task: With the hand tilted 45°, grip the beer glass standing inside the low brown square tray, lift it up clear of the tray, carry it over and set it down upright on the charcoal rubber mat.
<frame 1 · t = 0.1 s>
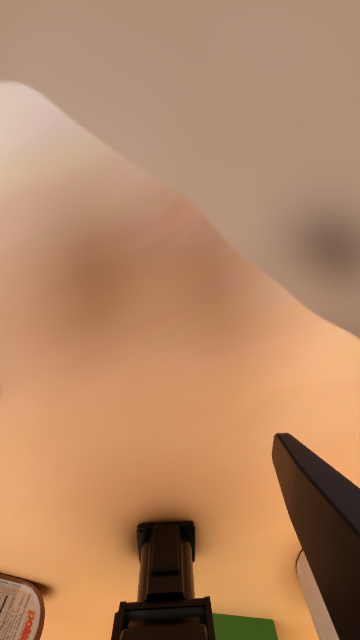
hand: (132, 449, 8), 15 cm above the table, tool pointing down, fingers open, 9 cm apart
hardback book: (205, 626, 38), on the table
utensil holder: (348, 555, 34), on the table
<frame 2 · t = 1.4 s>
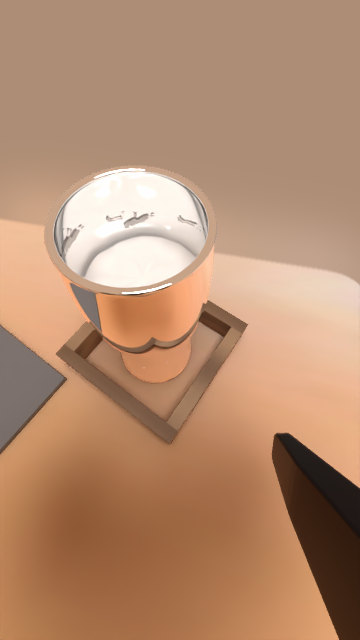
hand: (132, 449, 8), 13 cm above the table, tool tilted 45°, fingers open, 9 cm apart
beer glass: (156, 349, 24), resting in brown square tray
brown square tray: (156, 349, 24), on the table
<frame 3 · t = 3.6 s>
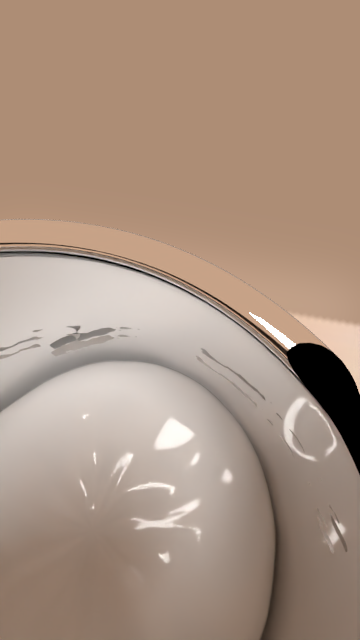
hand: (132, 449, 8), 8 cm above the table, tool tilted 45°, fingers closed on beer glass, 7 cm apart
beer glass: (151, 476, 15), resting in brown square tray, touching gripper
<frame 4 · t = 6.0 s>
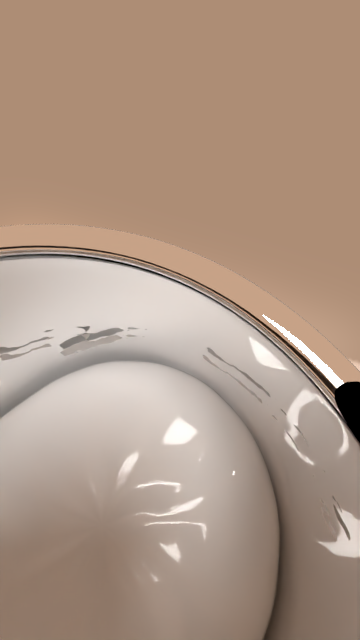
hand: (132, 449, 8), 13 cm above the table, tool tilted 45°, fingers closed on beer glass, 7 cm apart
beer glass: (154, 478, 15), point 5 cm above the table, touching gripper
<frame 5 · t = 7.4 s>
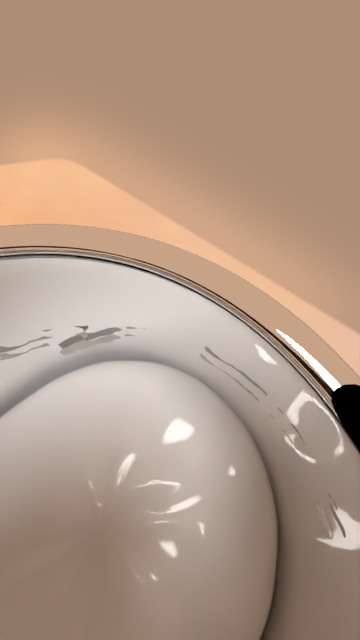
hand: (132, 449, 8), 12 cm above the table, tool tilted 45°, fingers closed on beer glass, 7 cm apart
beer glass: (155, 477, 15), point 4 cm above the table, touching gripper
when the fingers open (9 cm above the table, at t = 8.4 s): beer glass stays where it is, resting on rubber mat.
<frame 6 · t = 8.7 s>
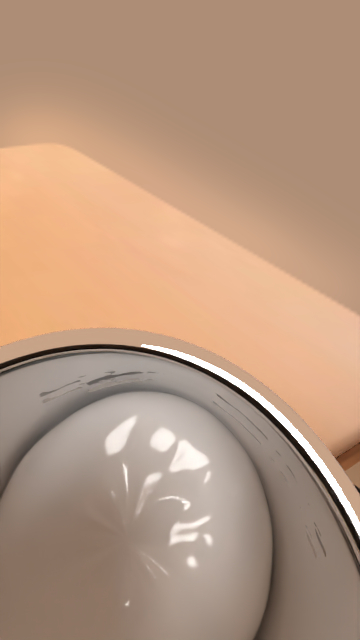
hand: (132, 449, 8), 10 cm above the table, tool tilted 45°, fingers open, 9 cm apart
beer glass: (156, 481, 16), resting on rubber mat
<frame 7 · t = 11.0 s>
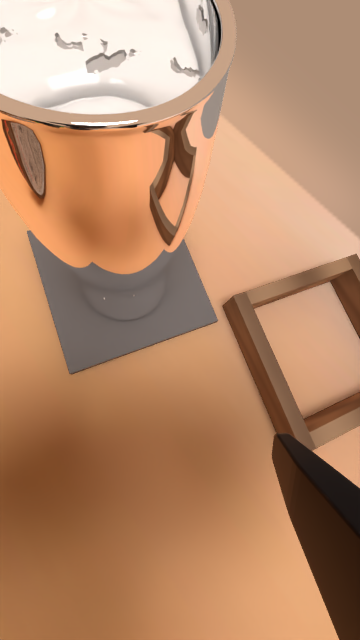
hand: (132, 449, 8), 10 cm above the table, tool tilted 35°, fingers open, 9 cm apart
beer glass: (125, 282, 20), resting on rubber mat
rubber mat: (123, 279, 20), on the table
brown square tray: (311, 347, 21), on the table
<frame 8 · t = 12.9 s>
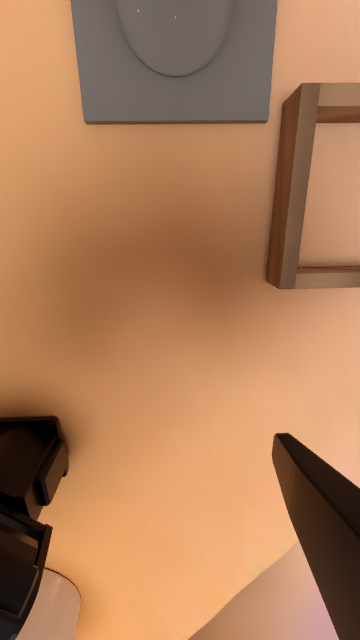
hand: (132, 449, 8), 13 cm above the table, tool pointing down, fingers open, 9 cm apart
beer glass: (174, 10, 15), resting on rubber mat
rubber mat: (174, 4, 15), on the table
brown square tray: (353, 200, 18), on the table
utensil holder: (26, 597, 32), on the table
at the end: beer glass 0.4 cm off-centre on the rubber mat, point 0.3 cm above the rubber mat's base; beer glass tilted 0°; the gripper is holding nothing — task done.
